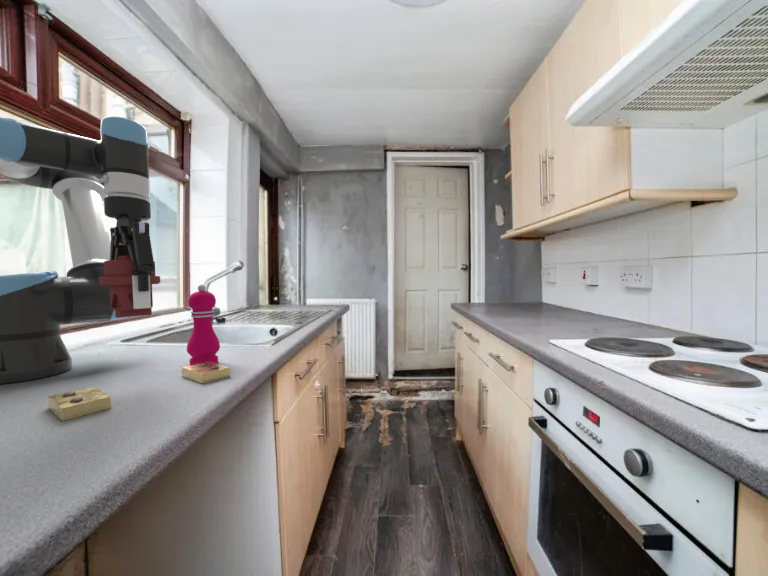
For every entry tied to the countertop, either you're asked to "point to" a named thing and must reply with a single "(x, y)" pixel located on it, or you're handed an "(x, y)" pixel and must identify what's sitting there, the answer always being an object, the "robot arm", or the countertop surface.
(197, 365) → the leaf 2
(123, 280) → the mechanical component
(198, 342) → the pepper mill
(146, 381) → the countertop surface
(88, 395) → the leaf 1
